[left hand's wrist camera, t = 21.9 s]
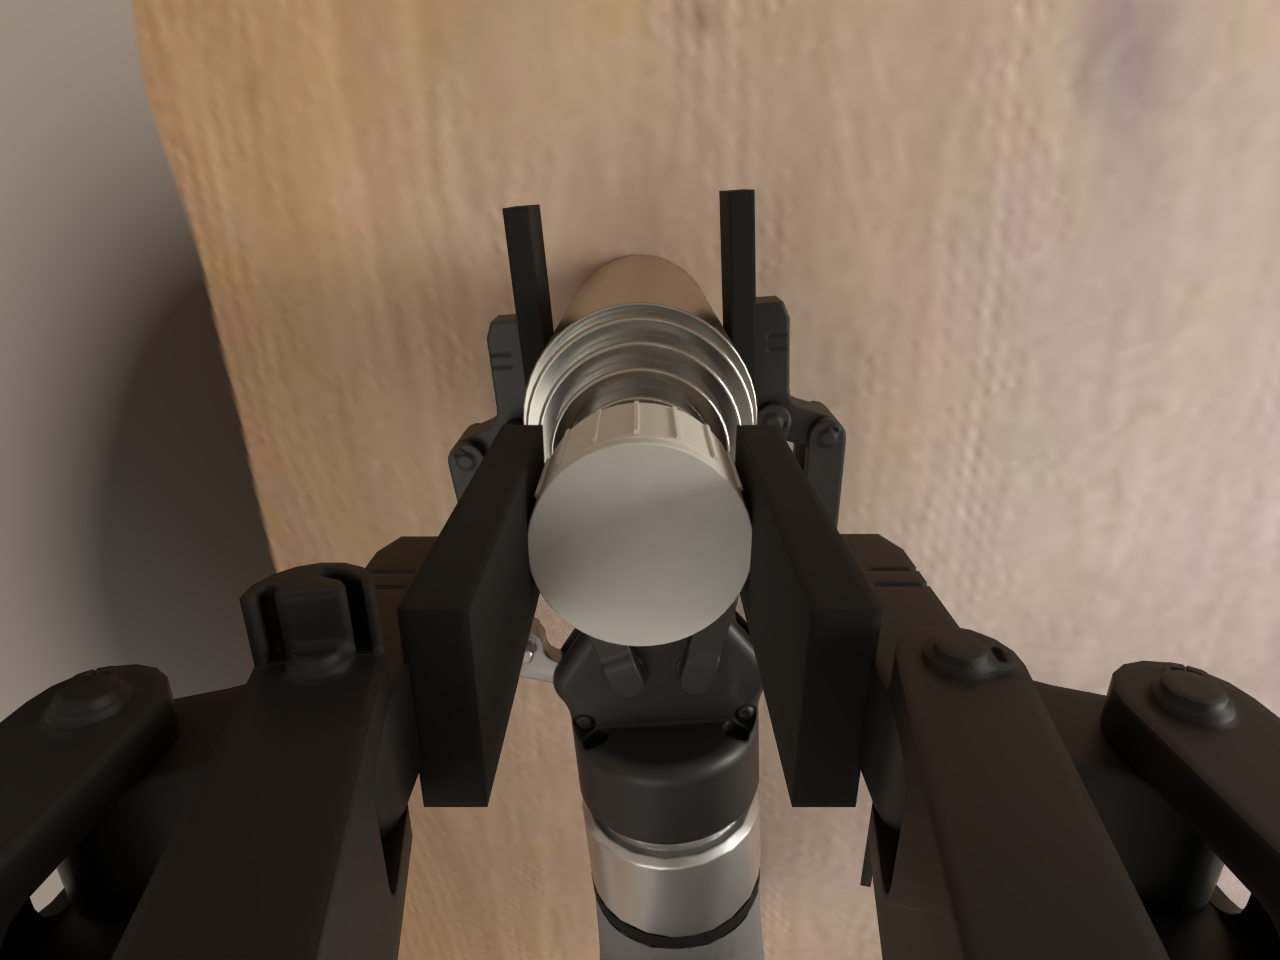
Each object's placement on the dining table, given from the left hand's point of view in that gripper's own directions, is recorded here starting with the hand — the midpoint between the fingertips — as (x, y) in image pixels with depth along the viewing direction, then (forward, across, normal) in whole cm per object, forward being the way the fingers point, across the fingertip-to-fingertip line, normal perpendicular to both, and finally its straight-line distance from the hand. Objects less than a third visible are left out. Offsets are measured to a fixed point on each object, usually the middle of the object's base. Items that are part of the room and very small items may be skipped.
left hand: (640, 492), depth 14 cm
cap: (-2, 0, 0) cm, 2 cm away
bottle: (+18, 0, 0) cm, 18 cm away
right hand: (+11, 0, -5) cm, 12 cm away
